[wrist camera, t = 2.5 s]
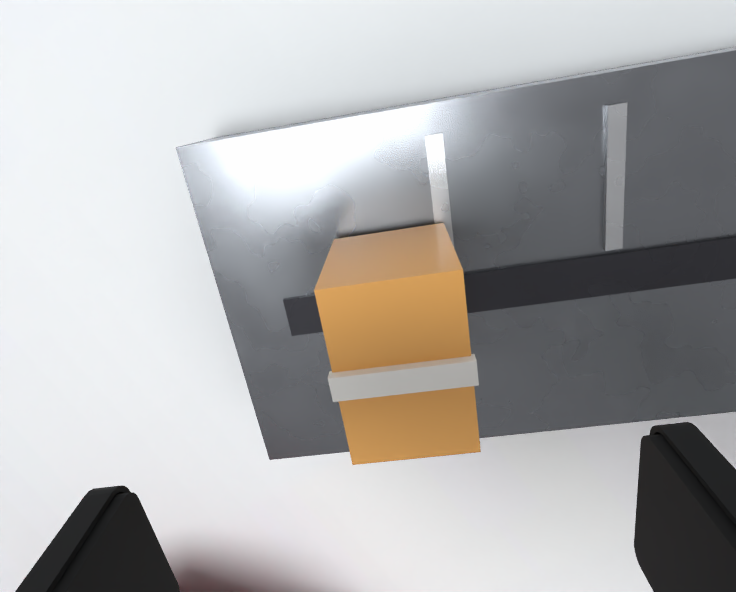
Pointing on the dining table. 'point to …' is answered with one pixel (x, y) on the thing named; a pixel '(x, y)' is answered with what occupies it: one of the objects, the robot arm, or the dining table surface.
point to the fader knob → (399, 344)
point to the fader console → (500, 243)
